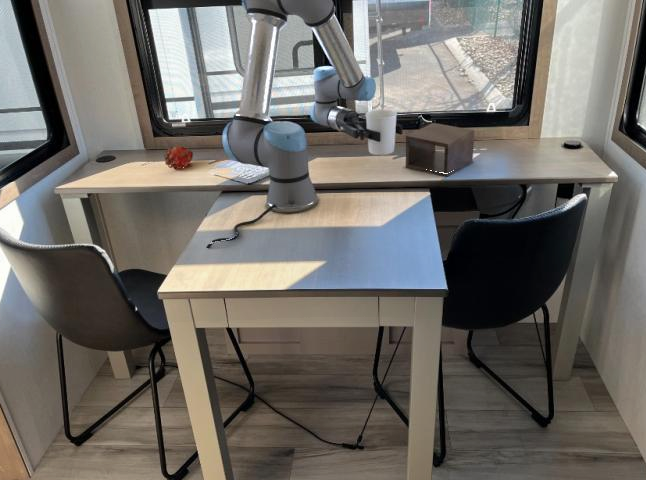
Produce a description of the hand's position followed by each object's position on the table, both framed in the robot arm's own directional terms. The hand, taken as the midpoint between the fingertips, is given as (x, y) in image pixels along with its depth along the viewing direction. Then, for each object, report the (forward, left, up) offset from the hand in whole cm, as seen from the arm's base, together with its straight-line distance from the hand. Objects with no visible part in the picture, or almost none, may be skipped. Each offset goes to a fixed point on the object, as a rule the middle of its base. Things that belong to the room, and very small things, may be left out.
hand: (390, 133), depth 185 cm
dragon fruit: (-33, +69, -14) cm, 77 cm away
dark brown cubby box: (+17, -7, -14) cm, 23 cm away
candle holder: (+1, +4, -7) cm, 8 cm away
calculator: (-25, +45, -14) cm, 53 cm away
